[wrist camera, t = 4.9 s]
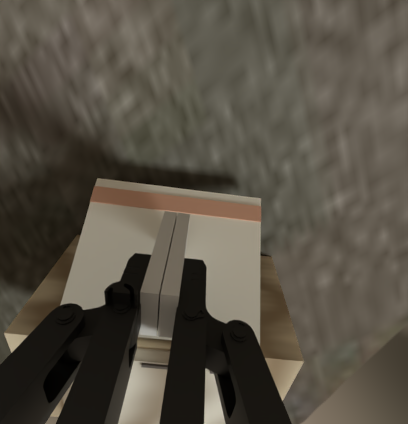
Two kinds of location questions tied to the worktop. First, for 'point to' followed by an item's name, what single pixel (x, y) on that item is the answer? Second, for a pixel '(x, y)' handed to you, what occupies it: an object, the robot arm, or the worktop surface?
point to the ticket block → (160, 349)
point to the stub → (196, 246)
